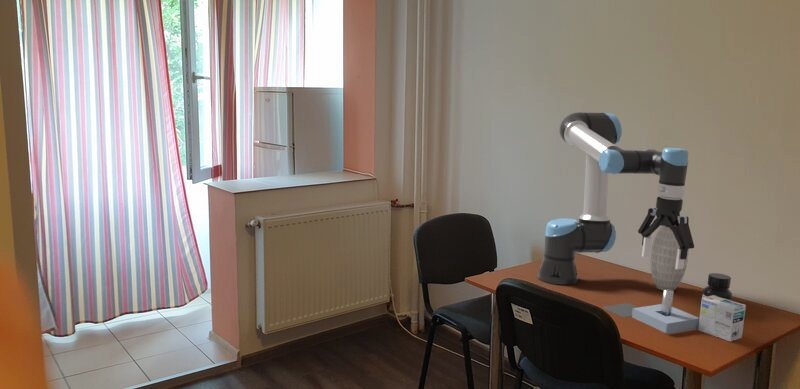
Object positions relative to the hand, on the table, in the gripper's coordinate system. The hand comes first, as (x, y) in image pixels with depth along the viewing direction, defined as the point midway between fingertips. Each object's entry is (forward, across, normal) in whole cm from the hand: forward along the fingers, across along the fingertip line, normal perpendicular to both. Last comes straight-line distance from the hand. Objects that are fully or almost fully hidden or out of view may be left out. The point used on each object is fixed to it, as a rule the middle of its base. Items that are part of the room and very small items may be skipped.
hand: (661, 262), depth 199 cm
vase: (+20, -22, +29) cm, 42 cm away
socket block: (+19, +4, 0) cm, 20 cm away
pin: (+19, +4, 0) cm, 20 cm away
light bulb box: (+19, +17, +9) cm, 27 cm away
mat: (+19, -9, -4) cm, 22 cm away
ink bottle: (+20, 0, +28) cm, 34 cm away
